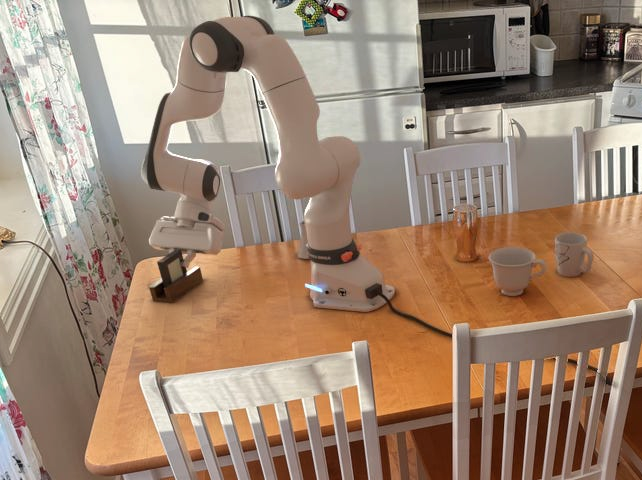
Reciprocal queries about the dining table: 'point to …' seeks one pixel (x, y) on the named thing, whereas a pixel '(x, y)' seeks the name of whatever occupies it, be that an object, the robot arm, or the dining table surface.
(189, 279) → the holder
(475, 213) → the beer glass
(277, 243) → the dining table surface
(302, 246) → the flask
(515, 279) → the teacup
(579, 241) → the mug
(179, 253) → the frame
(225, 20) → the robot arm
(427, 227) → the dining table surface
